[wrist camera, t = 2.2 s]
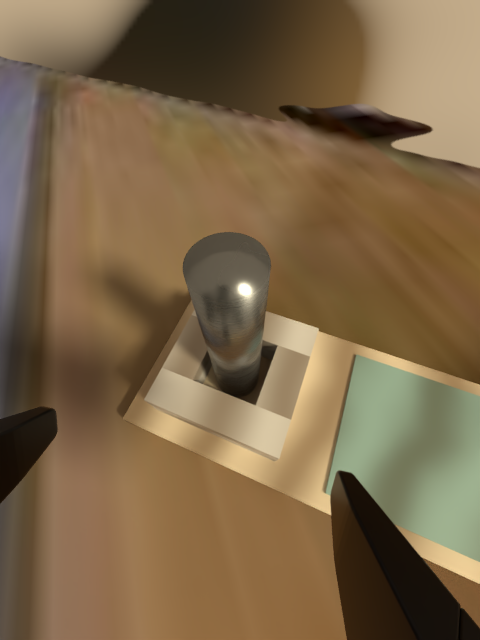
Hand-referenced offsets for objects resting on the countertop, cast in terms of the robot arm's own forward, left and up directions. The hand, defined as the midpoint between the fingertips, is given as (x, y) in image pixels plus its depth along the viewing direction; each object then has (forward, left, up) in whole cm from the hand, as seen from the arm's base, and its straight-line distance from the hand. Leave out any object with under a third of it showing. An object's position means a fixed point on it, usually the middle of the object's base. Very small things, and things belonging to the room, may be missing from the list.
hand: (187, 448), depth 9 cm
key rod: (+3, +5, -11) cm, 13 cm away
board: (+8, +1, -12) cm, 15 cm away
